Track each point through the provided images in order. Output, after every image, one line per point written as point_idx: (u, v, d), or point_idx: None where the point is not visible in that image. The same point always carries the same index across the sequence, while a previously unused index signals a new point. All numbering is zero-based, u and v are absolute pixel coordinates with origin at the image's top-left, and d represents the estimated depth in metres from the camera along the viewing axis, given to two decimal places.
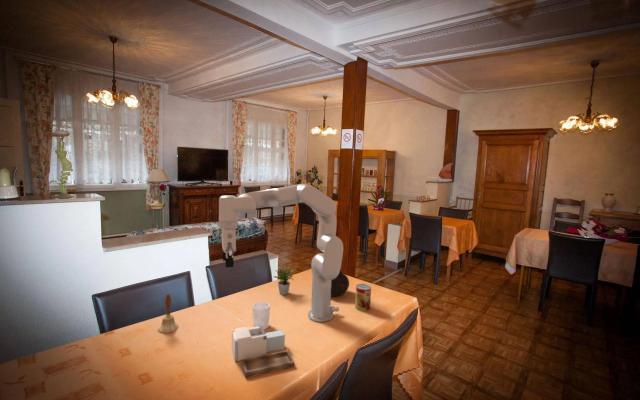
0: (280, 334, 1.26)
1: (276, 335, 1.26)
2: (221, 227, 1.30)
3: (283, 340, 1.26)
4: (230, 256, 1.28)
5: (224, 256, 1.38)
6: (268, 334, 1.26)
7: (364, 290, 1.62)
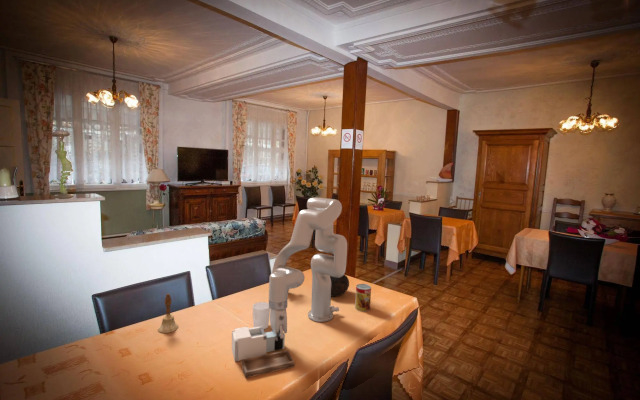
0: None
1: (275, 334, 1.26)
2: (272, 308, 1.23)
3: (283, 340, 1.26)
4: (280, 339, 1.23)
5: None
6: (268, 334, 1.26)
7: (364, 290, 1.62)
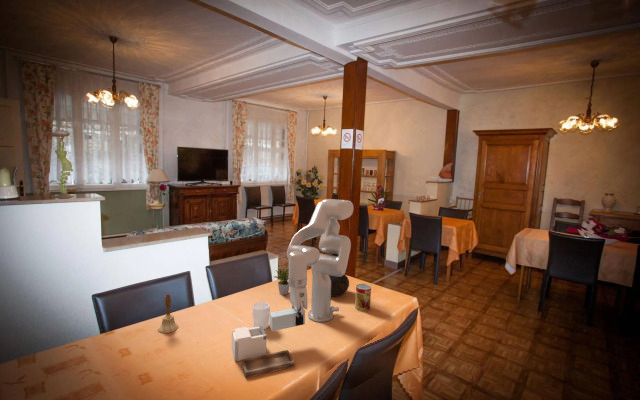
0: None
1: None
2: (292, 285, 1.26)
3: (303, 316, 1.30)
4: (301, 315, 1.27)
5: None
6: (289, 310, 1.30)
7: (364, 290, 1.62)
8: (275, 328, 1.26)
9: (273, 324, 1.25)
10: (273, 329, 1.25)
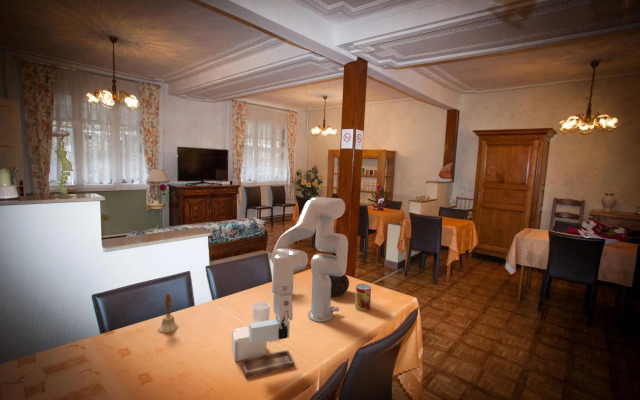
0: None
1: None
2: (276, 292, 1.12)
3: (288, 328, 1.15)
4: (285, 327, 1.12)
5: None
6: (271, 321, 1.15)
7: (364, 290, 1.62)
8: (255, 341, 1.10)
9: (252, 336, 1.10)
10: (252, 342, 1.10)
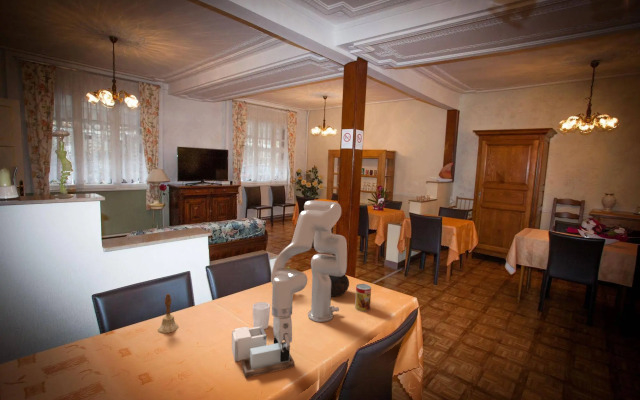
0: None
1: (280, 347, 1.16)
2: (275, 315, 1.12)
3: None
4: (287, 350, 1.11)
5: (275, 343, 1.21)
6: (272, 346, 1.16)
7: (364, 290, 1.62)
8: (255, 367, 1.12)
9: (253, 362, 1.11)
10: (253, 368, 1.11)
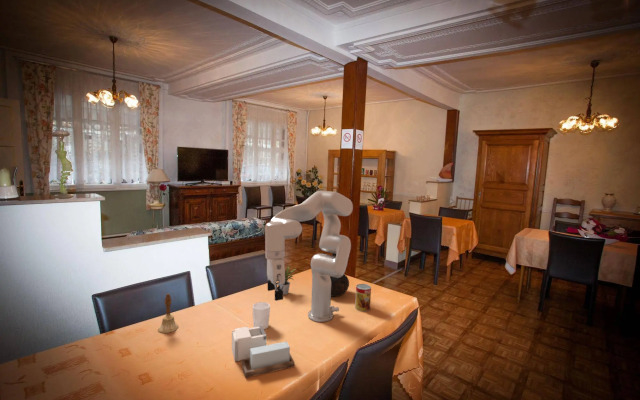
0: (285, 347, 1.16)
1: (280, 347, 1.16)
2: (269, 257, 1.19)
3: (288, 352, 1.16)
4: (280, 289, 1.18)
5: (269, 286, 1.28)
6: (272, 346, 1.16)
7: (364, 290, 1.62)
8: (255, 367, 1.12)
9: (253, 362, 1.11)
10: (253, 368, 1.11)
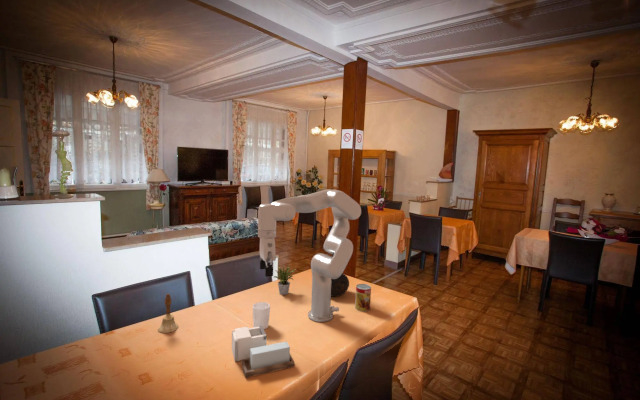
0: (285, 347, 1.16)
1: (280, 347, 1.16)
2: (261, 236, 1.29)
3: (288, 352, 1.16)
4: (270, 265, 1.27)
5: (261, 265, 1.37)
6: (272, 346, 1.16)
7: (364, 290, 1.62)
8: (255, 367, 1.12)
9: (253, 362, 1.11)
10: (253, 368, 1.11)
